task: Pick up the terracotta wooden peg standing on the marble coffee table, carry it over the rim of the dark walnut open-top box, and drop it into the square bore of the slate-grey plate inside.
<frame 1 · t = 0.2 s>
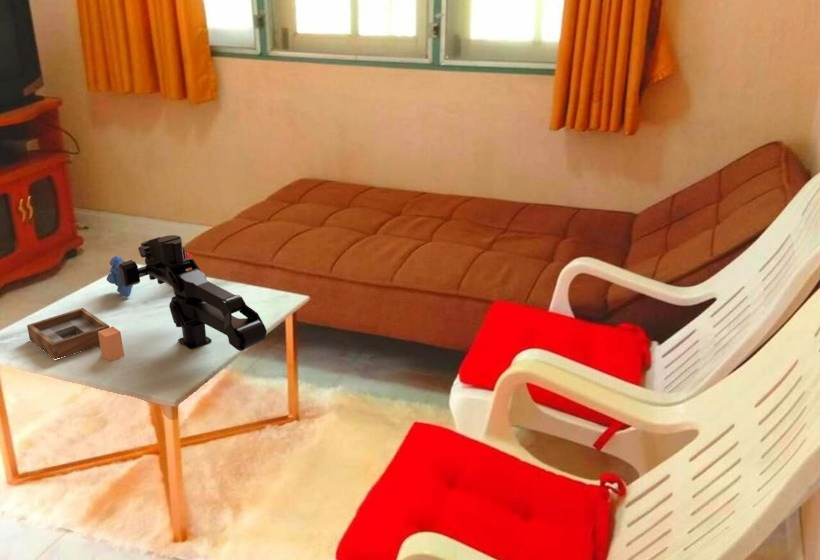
hand: (137, 258, 214), 16 cm above the table, tool horizontal, fingers open, 9 cm apart
grapes: (120, 295, 230), on the table
peg: (112, 355, 197), on the table
socket box: (70, 340, 204), on the table
bird rattle: (182, 283, 239), on the table
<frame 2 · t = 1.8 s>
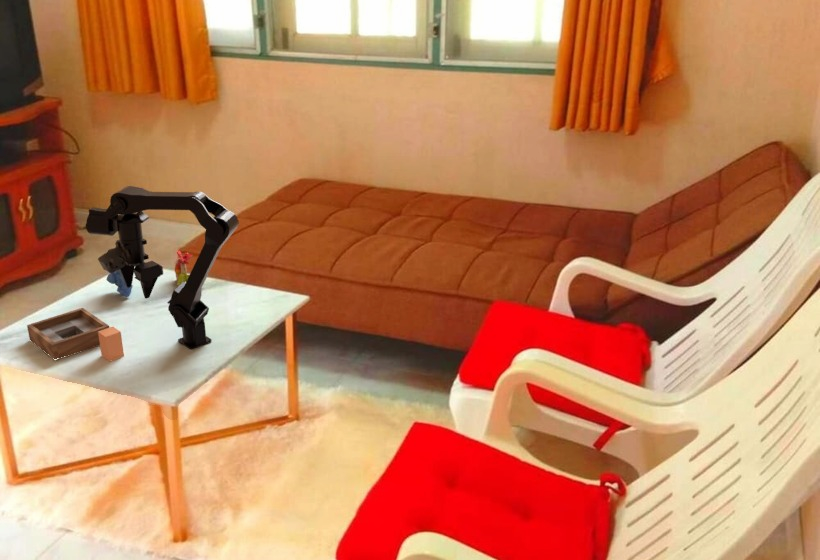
hand: (138, 292, 201), 13 cm above the table, tool pointing down, fingers open, 9 cm apart
nothing on the table moved.
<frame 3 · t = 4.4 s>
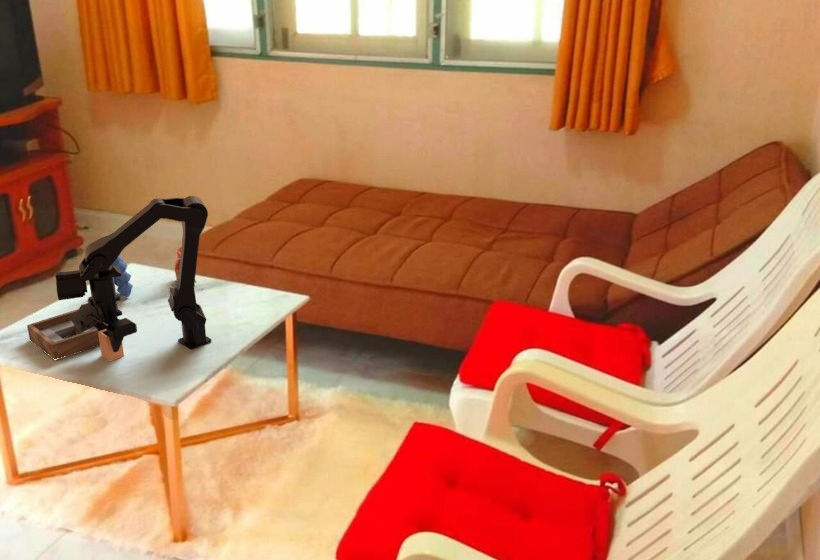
hand: (111, 348, 196), 2 cm above the table, tool pointing down, fingers closed on peg, 4 cm apart
peg: (112, 355, 197), on the table, touching gripper
everything else where it was.
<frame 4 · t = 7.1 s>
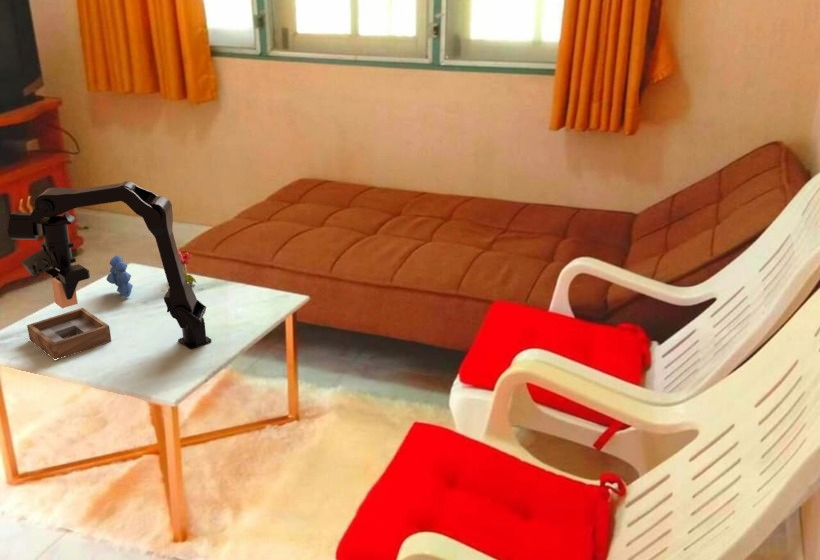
hand: (65, 296, 197), 13 cm above the table, tool pointing down, fingers closed on peg, 4 cm apart
peg: (66, 303, 198), point 11 cm above the table, touching gripper
everything else where it was.
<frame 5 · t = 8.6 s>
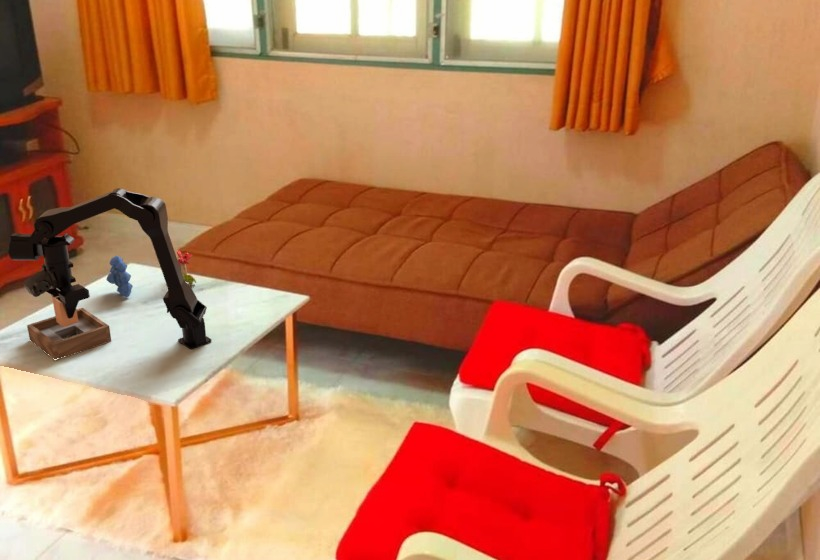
hand: (66, 315, 201), 8 cm above the table, tool pointing down, fingers closed on peg, 4 cm apart
peg: (67, 322, 201), point 6 cm above the table, touching gripper
everything else where it was.
when the fingers open (4 cm above the table, at t = 9.8 s): peg drops 2 cm, resting in socket box.
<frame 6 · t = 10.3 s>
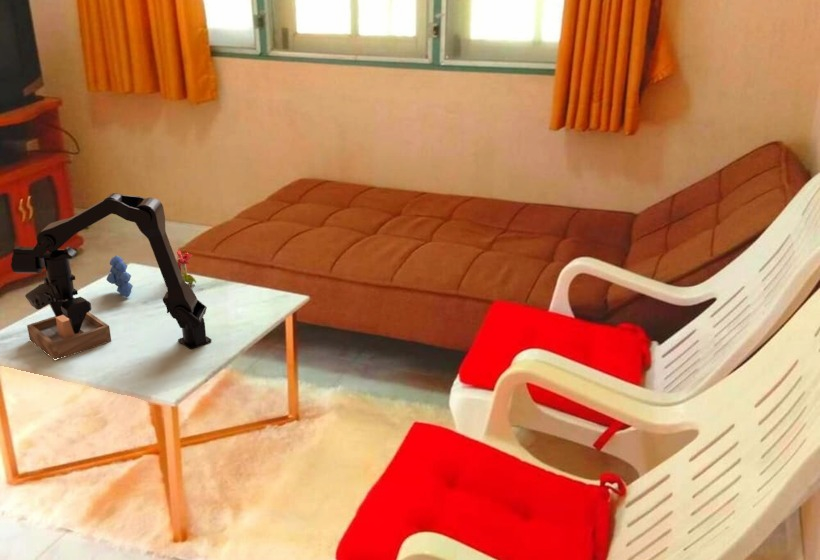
hand: (68, 327, 202), 4 cm above the table, tool pointing down, fingers open, 9 cm apart
peg: (70, 340, 204), resting in socket box
everything else where it was.
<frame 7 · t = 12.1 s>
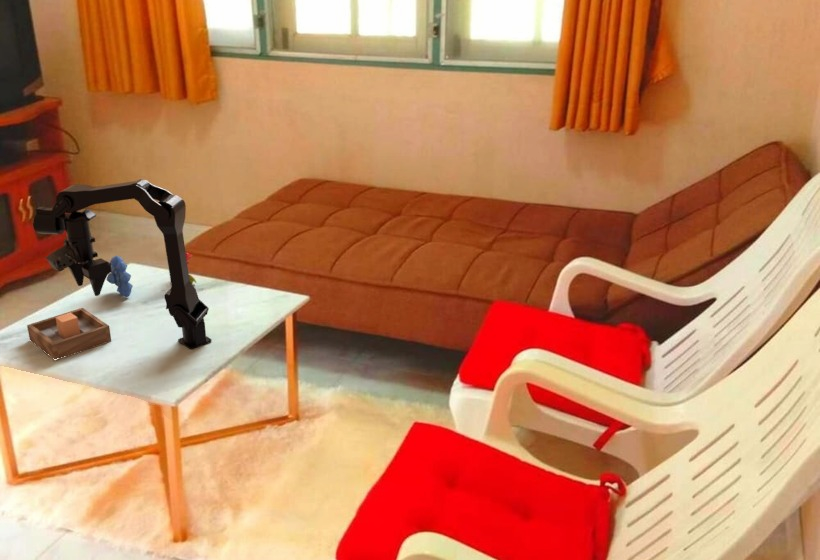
hand: (88, 290, 203), 13 cm above the table, tool pointing down, fingers open, 9 cm apart
nothing on the table moved.
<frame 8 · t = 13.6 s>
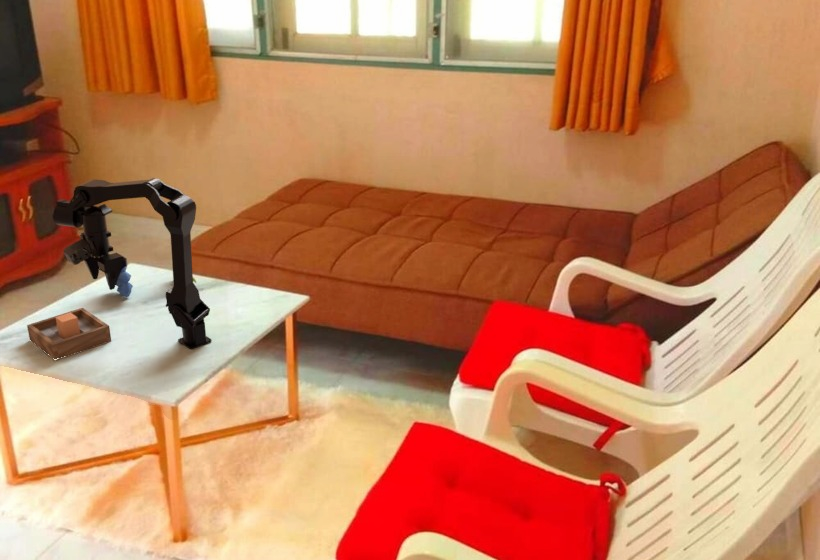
hand: (103, 284, 206), 13 cm above the table, tool pointing down, fingers open, 9 cm apart
nothing on the table moved.
at the end: peg 0.1 cm off-centre on the socket box, point 0.0 cm above the socket box's base; peg tilted 0°; the gripper is holding nothing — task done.
